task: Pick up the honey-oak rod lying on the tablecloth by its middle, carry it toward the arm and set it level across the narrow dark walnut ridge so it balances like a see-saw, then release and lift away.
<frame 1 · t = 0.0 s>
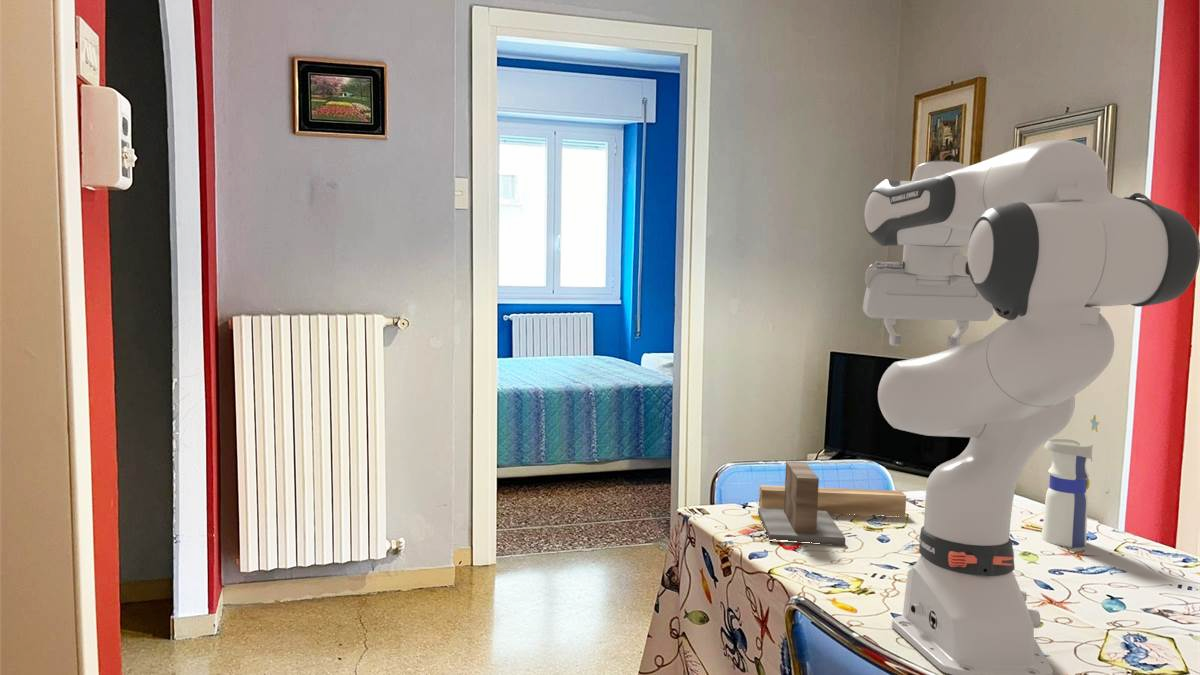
hand: (923, 346, 139), 39 cm above the table, tool pointing down, fingers open, 8 cm apart
oak rod: (830, 513, 179), on the table
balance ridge: (799, 529, 166), on the table
water bottle: (1063, 541, 164), on the table
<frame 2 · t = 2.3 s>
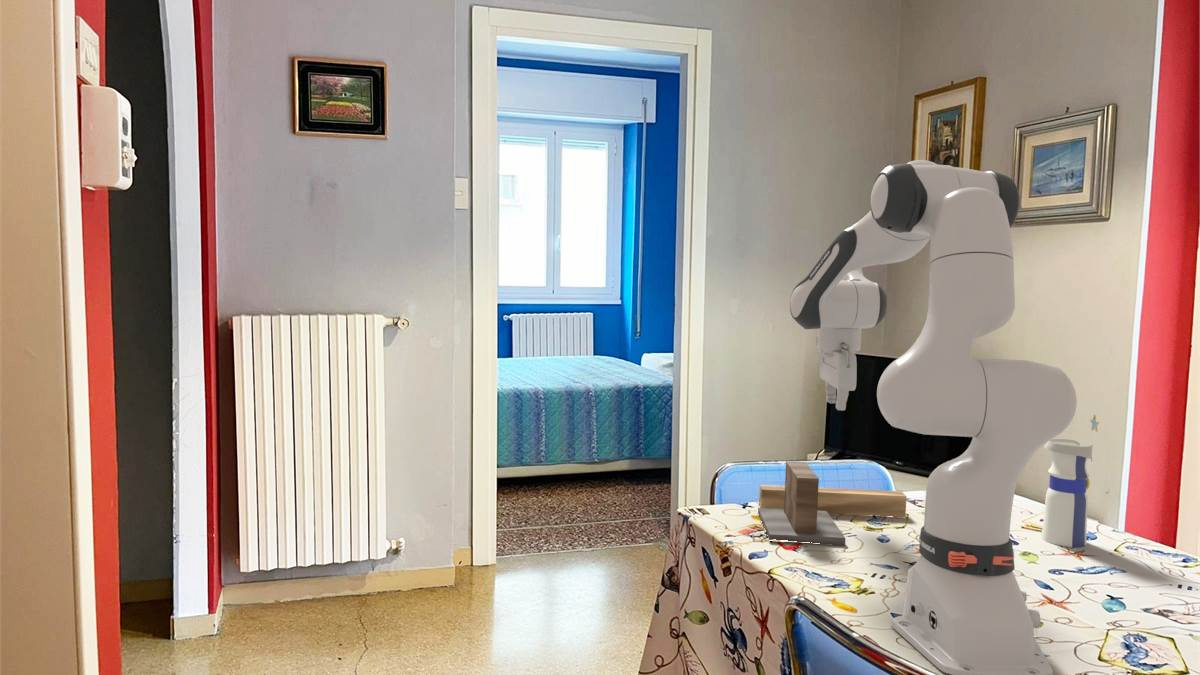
hand: (835, 406, 178), 23 cm above the table, tool pointing down, fingers open, 8 cm apart
nothing on the table moved.
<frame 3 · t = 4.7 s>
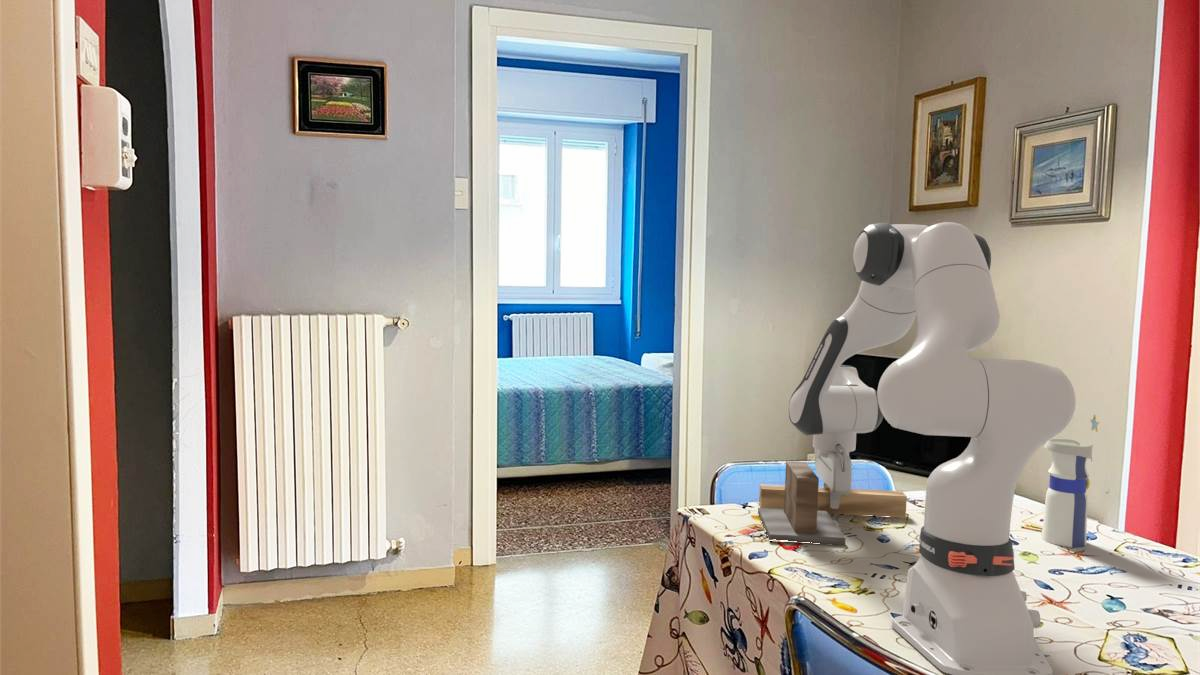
hand: (831, 504, 179), 2 cm above the table, tool pointing down, fingers closed on oak rod, 4 cm apart
oak rod: (830, 513, 179), on the table, touching gripper
everything else where it was.
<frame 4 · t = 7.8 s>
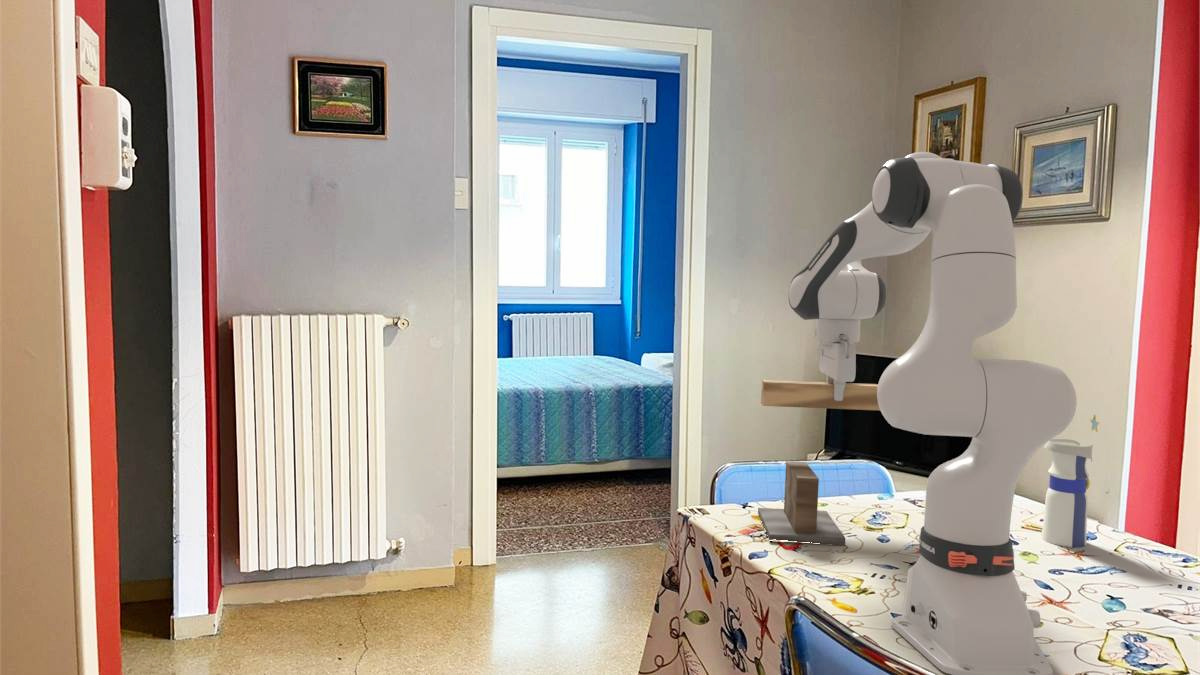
hand: (835, 398, 176), 25 cm above the table, tool pointing down, fingers closed on oak rod, 4 cm apart
oak rod: (834, 407, 176), point 23 cm above the table, touching gripper
everything else where it was.
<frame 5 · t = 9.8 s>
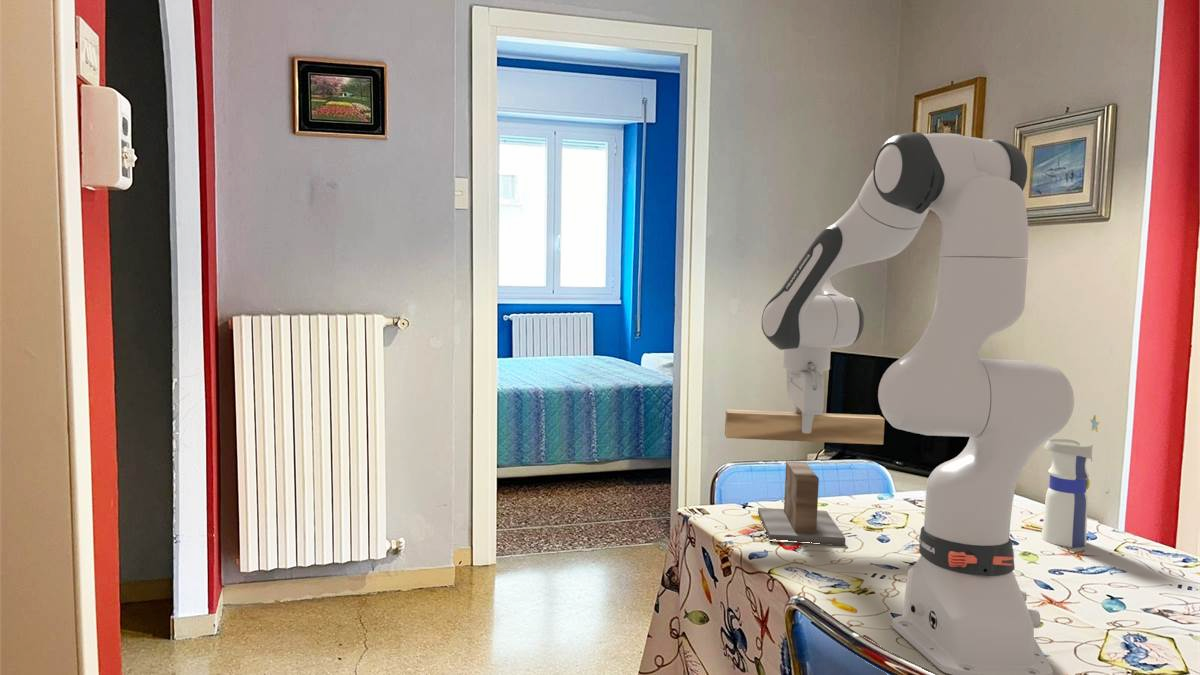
hand: (803, 430, 165), 20 cm above the table, tool pointing down, fingers closed on oak rod, 4 cm apart
oak rod: (802, 439, 165), point 18 cm above the table, touching gripper
everything else where it was.
when the fingers open (15 cm above the table, at t = 11.1 s): oak rod stays where it is, resting on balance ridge.
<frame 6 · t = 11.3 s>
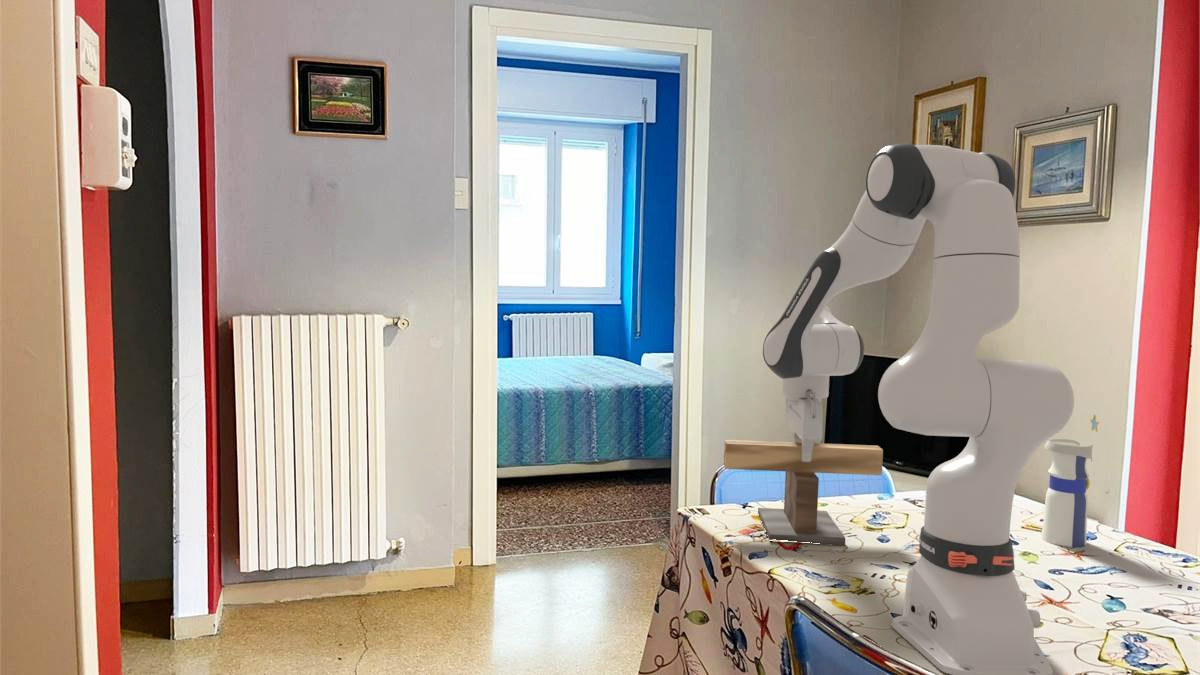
hand: (802, 456, 165), 15 cm above the table, tool pointing down, fingers open, 6 cm apart
oak rod: (801, 469, 165), point 12 cm above the table, touching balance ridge
everything else where it was.
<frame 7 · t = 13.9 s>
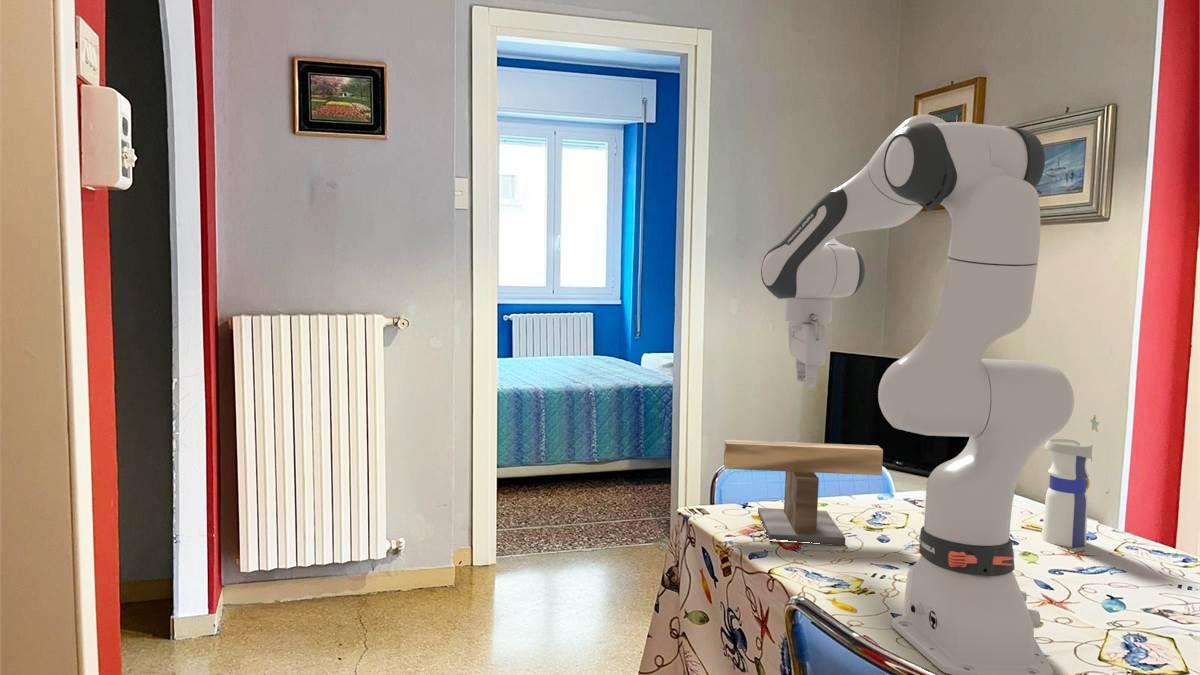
hand: (805, 384, 164), 29 cm above the table, tool pointing down, fingers open, 8 cm apart
nothing on the table moved.
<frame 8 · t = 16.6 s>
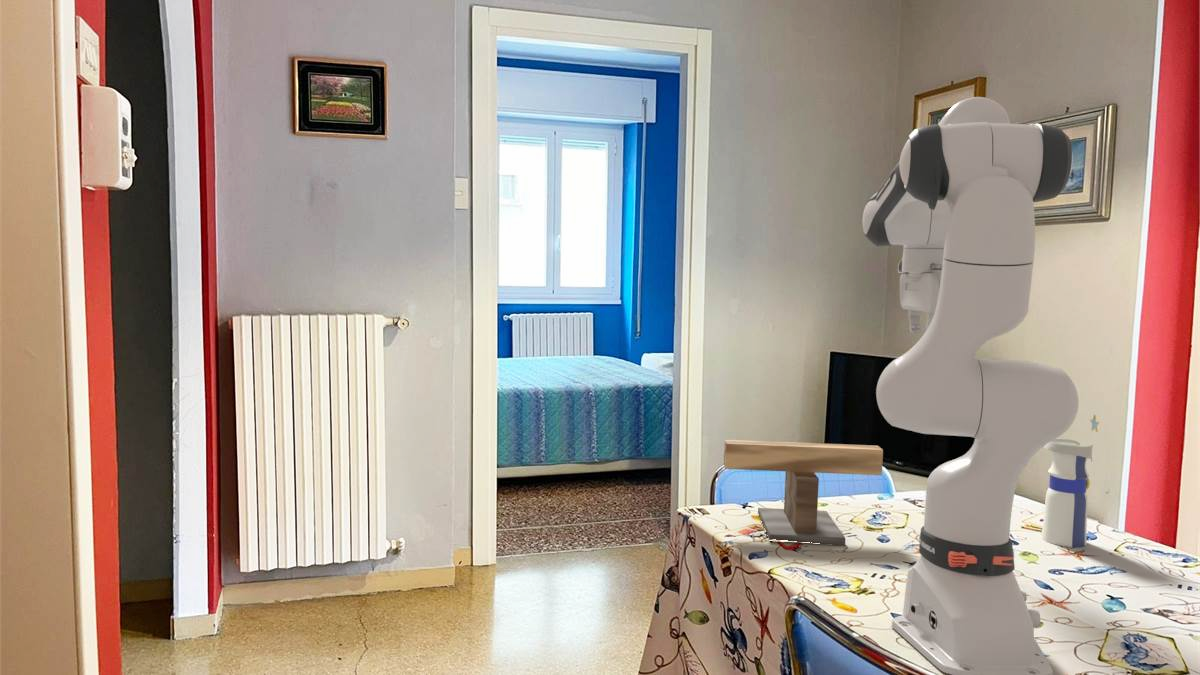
hand: (922, 334, 165), 39 cm above the table, tool pointing down, fingers open, 8 cm apart
nothing on the table moved.
at the end: oak rod 0.1 cm off-centre on the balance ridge, point 12.0 cm above the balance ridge's base; oak rod tilted 0°; the gripper is holding nothing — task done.
